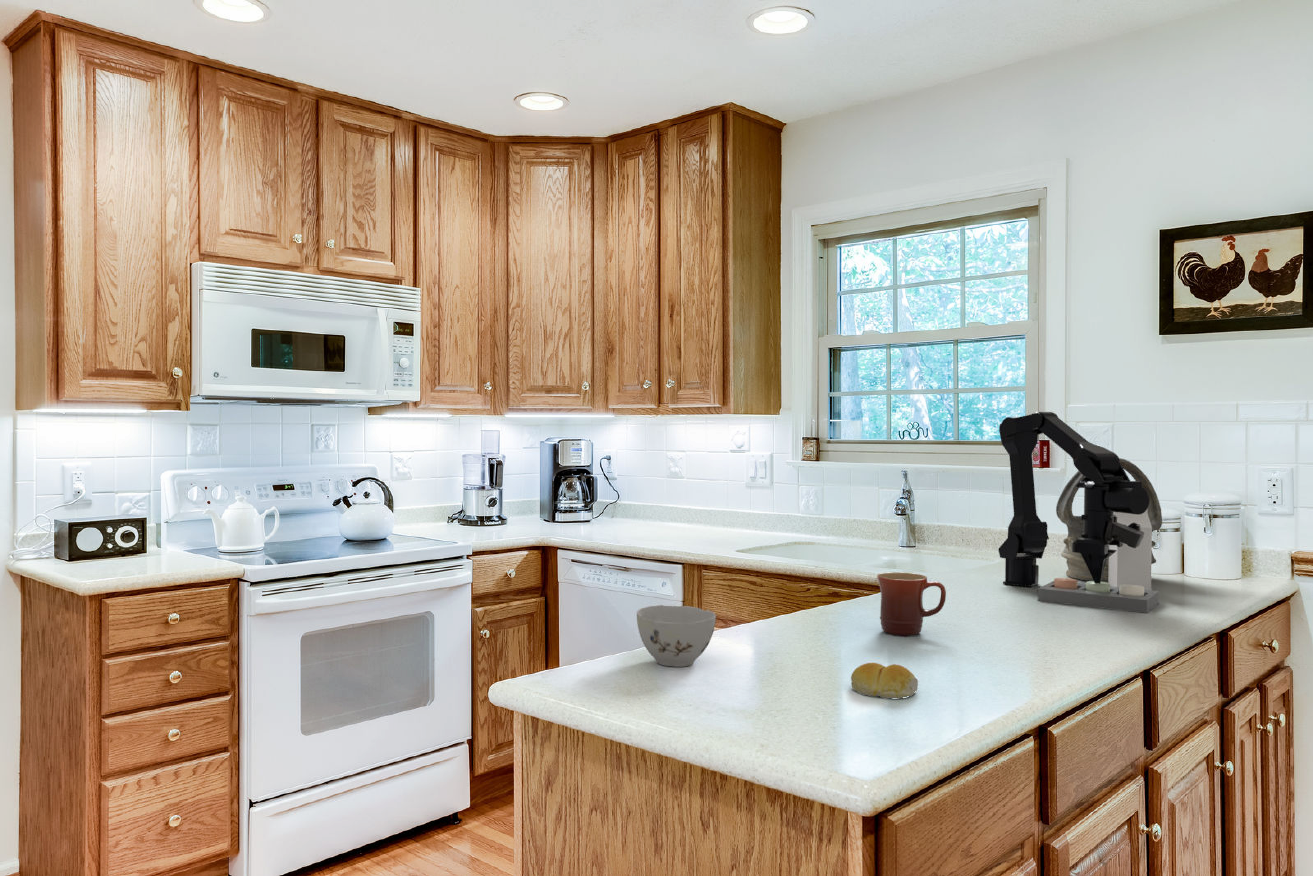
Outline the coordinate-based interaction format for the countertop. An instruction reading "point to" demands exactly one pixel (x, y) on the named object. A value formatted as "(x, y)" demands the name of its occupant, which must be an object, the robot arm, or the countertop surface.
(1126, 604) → the panel
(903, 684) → the bread roll
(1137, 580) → the milk carton
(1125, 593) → the cream button
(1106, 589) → the sage button
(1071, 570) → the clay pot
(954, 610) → the countertop surface
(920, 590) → the mug
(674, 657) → the teacup
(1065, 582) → the terracotta button
